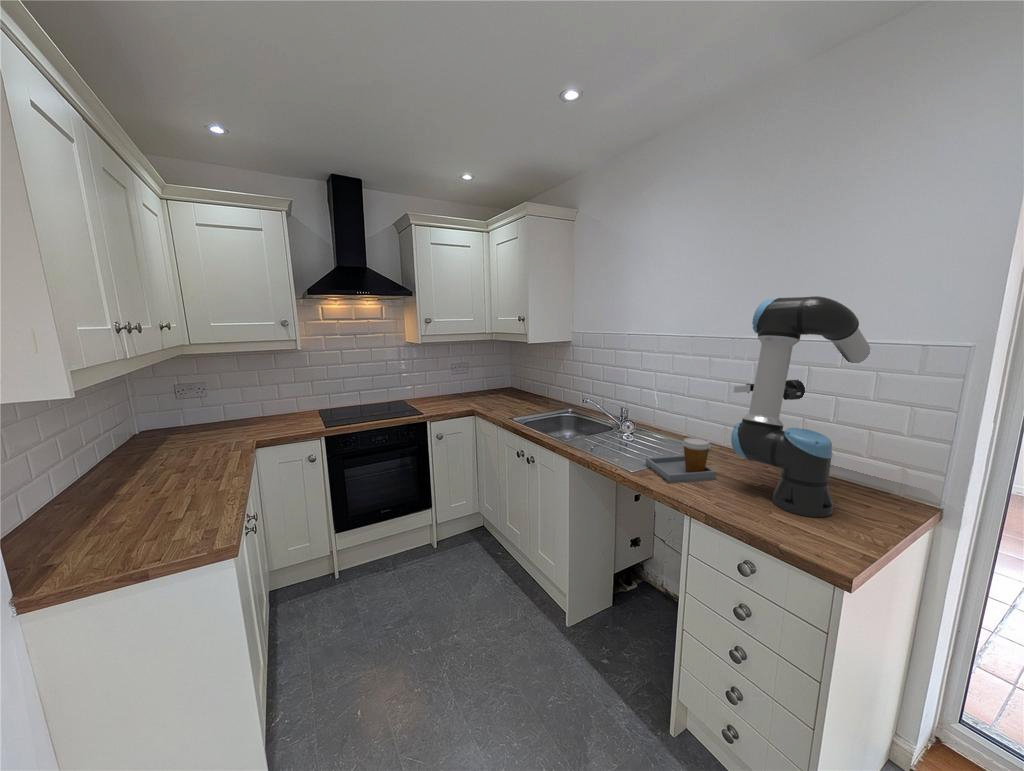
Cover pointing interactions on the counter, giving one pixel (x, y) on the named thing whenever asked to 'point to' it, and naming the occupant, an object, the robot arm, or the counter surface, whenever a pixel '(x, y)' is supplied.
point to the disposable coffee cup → (695, 454)
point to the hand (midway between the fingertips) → (746, 392)
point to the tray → (677, 470)
